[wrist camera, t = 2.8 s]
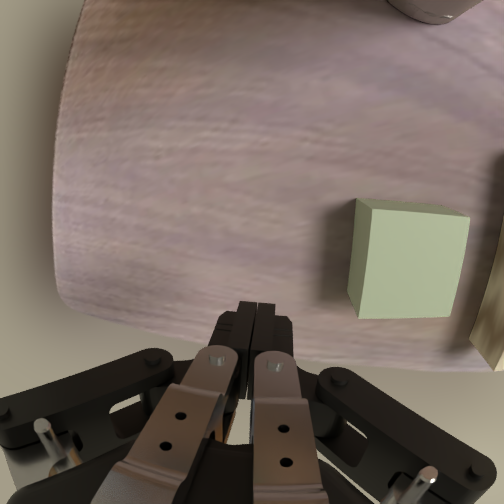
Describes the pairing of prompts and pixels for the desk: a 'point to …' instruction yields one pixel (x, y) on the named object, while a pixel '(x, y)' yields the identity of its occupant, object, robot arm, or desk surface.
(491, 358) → the stop board
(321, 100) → the desk surface
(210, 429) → the robot arm
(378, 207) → the sage block
